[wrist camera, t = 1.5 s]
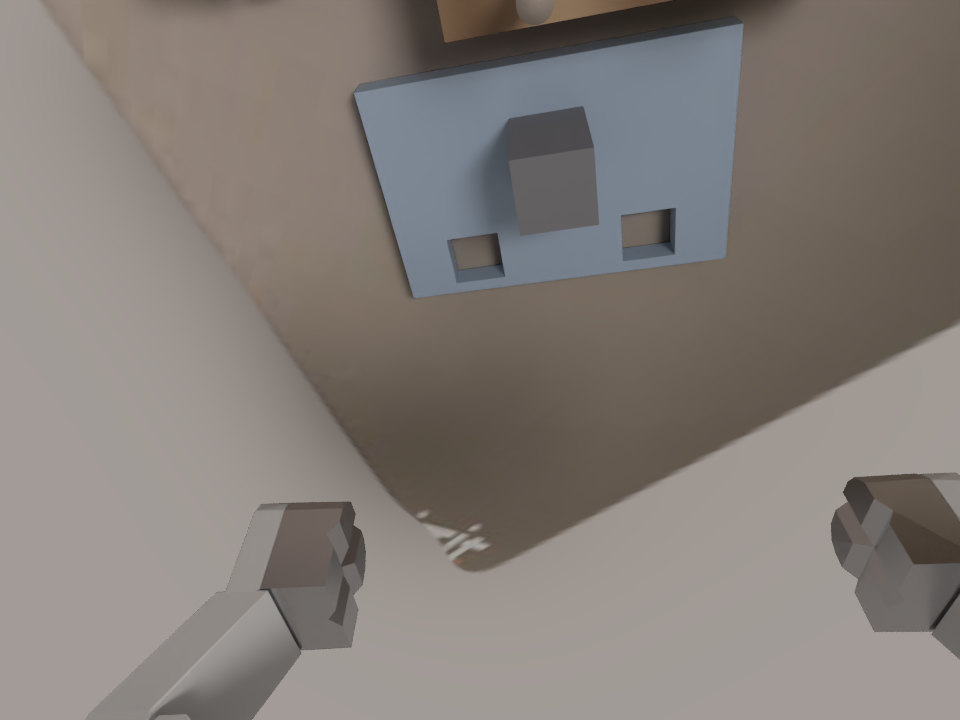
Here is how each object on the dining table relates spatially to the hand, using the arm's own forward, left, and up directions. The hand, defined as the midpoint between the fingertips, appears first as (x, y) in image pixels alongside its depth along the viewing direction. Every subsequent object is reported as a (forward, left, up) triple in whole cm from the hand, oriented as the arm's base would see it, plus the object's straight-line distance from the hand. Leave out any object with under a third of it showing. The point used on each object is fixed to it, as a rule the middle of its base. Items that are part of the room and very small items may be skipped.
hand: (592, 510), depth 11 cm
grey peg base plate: (0, +3, -21) cm, 21 cm away
